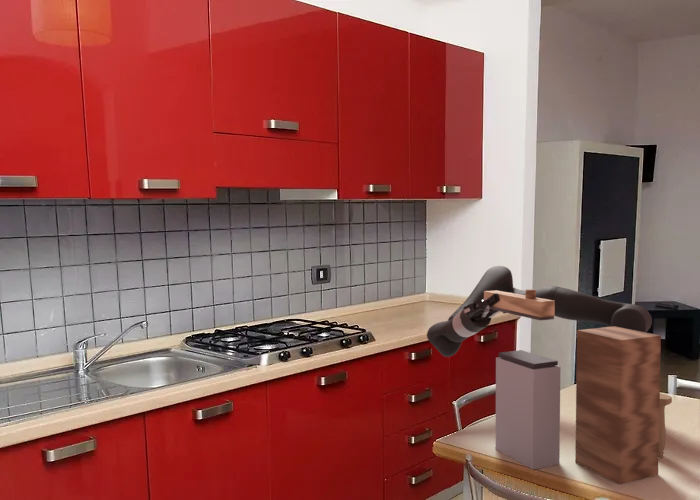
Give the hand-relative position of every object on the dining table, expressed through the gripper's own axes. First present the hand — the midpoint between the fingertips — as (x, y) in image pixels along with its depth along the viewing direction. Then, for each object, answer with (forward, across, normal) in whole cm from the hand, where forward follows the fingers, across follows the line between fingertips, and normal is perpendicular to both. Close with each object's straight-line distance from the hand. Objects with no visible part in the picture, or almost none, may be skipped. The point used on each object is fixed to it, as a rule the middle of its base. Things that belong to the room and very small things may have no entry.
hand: (505, 296), depth 153 cm
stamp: (+2, 0, -6) cm, 6 cm away
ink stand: (-12, 0, -38) cm, 40 cm away
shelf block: (+1, -14, -45) cm, 47 cm away
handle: (0, -29, -44) cm, 53 cm away
